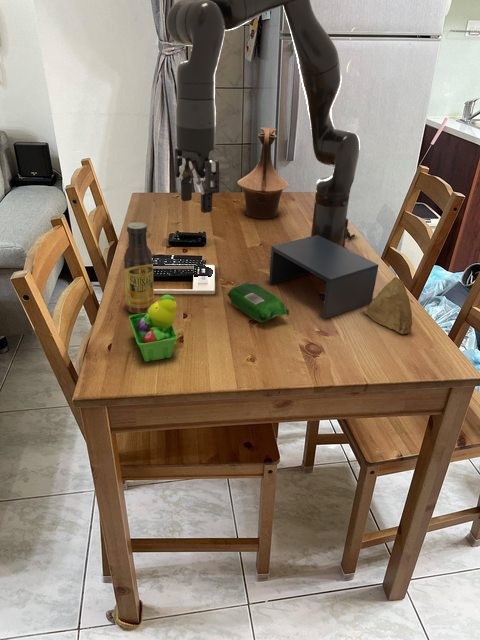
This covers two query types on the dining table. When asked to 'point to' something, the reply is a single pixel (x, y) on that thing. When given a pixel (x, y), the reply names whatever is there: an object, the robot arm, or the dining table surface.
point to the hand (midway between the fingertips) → (196, 206)
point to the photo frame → (199, 283)
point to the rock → (392, 307)
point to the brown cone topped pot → (263, 182)
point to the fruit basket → (156, 329)
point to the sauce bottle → (138, 270)
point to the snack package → (257, 302)
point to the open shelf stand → (326, 271)
